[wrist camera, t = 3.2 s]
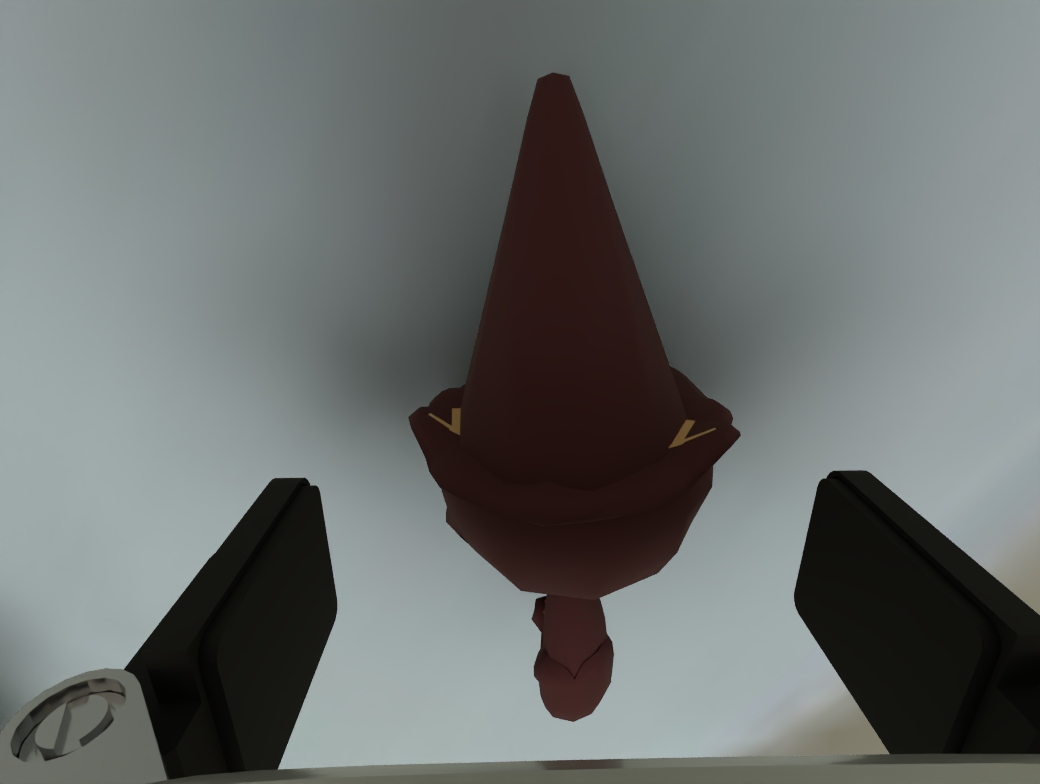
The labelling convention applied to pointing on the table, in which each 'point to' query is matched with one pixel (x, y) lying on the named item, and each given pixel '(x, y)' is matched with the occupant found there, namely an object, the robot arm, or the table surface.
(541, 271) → the icecream
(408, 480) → the table surface
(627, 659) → the table surface
